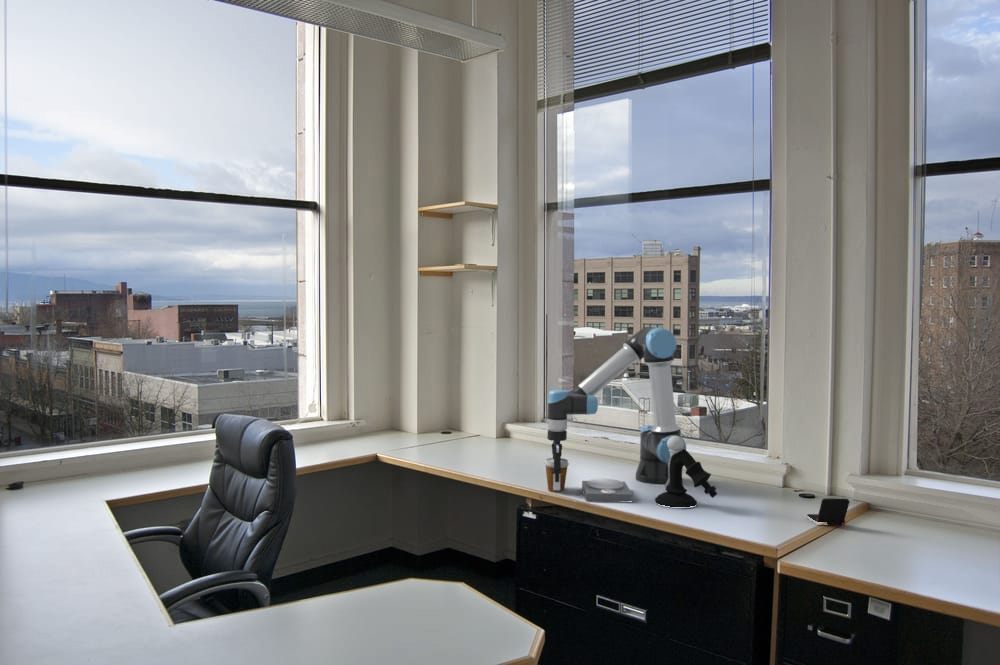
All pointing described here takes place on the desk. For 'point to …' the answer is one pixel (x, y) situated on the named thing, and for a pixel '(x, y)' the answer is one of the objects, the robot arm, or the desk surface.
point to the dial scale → (606, 490)
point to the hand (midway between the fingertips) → (556, 487)
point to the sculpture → (674, 484)
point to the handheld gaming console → (832, 512)
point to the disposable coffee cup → (550, 468)
